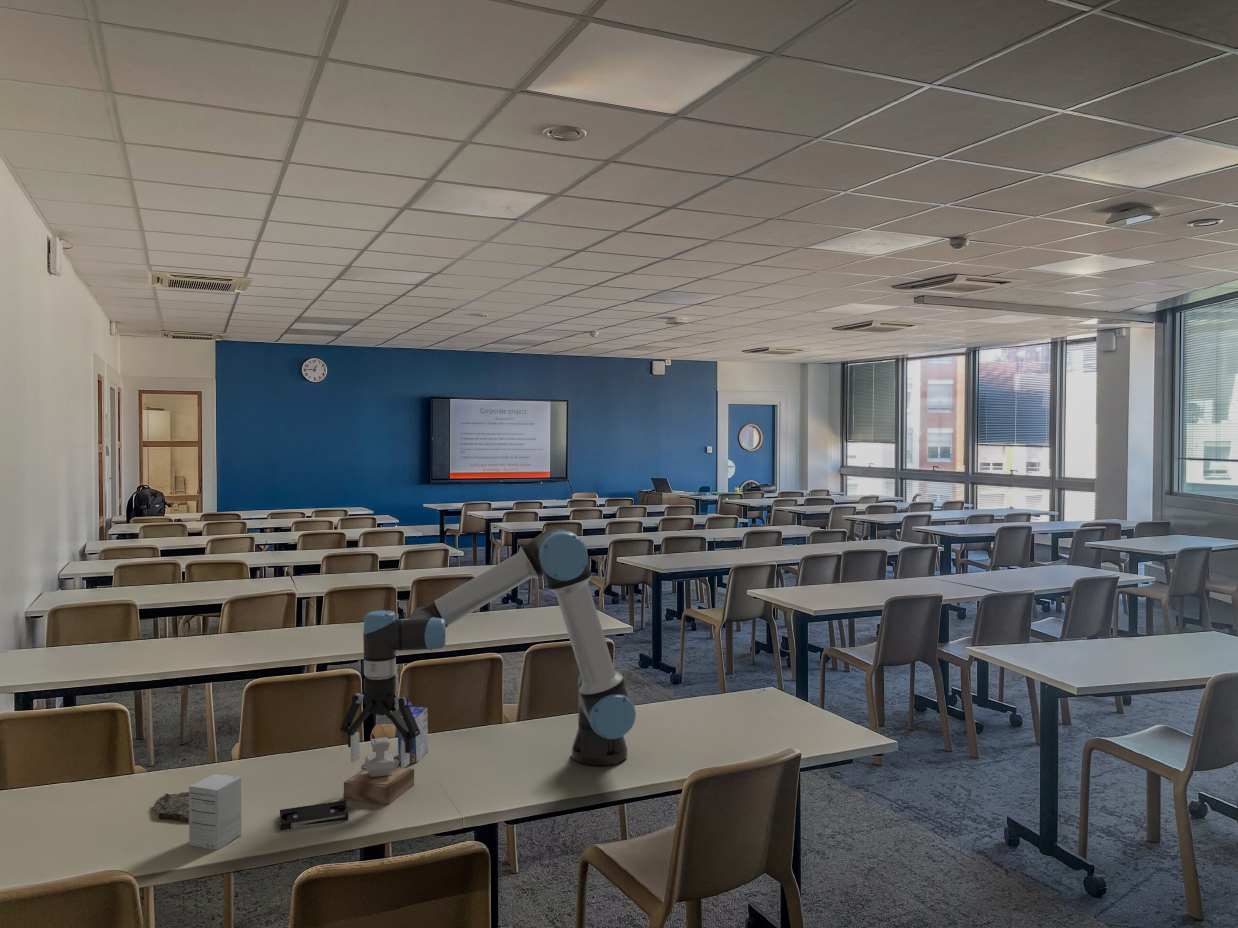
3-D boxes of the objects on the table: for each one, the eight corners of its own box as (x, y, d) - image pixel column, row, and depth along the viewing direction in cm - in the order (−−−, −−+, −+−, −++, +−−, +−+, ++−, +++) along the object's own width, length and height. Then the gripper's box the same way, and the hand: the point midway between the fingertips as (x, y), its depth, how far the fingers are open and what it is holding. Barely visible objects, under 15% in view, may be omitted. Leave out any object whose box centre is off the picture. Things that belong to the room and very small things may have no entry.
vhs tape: (279, 832, 182) (279, 823, 182) (279, 818, 190) (279, 809, 189) (348, 822, 188) (348, 813, 188) (345, 808, 195) (345, 800, 195)
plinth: (414, 784, 208) (414, 767, 208) (389, 804, 196) (389, 786, 196) (370, 780, 211) (370, 763, 211) (343, 798, 199) (343, 781, 199)
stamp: (397, 767, 208) (397, 733, 208) (400, 776, 202) (400, 741, 202) (359, 771, 205) (359, 737, 205) (361, 781, 199) (361, 746, 199)
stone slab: (178, 796, 202) (178, 784, 202) (236, 804, 197) (236, 791, 197) (135, 818, 190) (135, 805, 190) (195, 827, 185) (195, 813, 185)
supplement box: (214, 830, 182) (214, 772, 182) (242, 835, 180) (242, 776, 180) (187, 845, 175) (187, 785, 175) (216, 850, 173) (216, 789, 173)
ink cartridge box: (409, 749, 233) (409, 697, 233) (428, 750, 232) (428, 698, 232) (396, 762, 223) (396, 708, 223) (416, 763, 222) (416, 708, 222)
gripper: (325, 676, 203) (325, 763, 203) (419, 683, 197) (419, 773, 197) (343, 668, 210) (343, 753, 210) (433, 675, 204) (434, 762, 204)
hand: (380, 763), depth 203 cm, fingers open, 13 cm apart
